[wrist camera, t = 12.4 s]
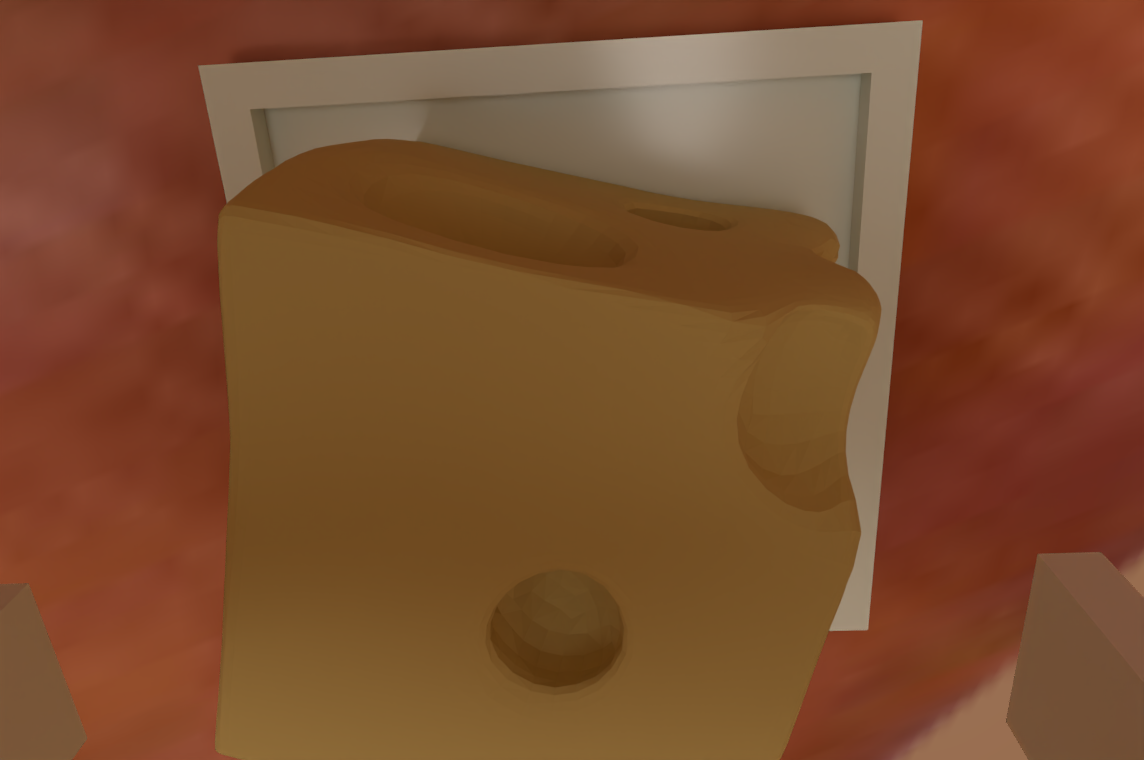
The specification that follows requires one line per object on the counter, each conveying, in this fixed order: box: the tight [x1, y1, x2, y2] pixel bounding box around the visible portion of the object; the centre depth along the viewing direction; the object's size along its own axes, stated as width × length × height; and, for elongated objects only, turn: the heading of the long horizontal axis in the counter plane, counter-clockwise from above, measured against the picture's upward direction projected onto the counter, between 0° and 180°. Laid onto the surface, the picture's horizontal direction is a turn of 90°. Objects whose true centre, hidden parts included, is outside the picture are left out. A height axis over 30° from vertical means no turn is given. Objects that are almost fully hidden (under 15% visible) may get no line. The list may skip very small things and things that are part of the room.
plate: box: [198, 20, 923, 631], centre depth 22 cm, size 16×16×2 cm
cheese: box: [215, 139, 882, 760], centre depth 17 cm, size 10×11×10 cm
